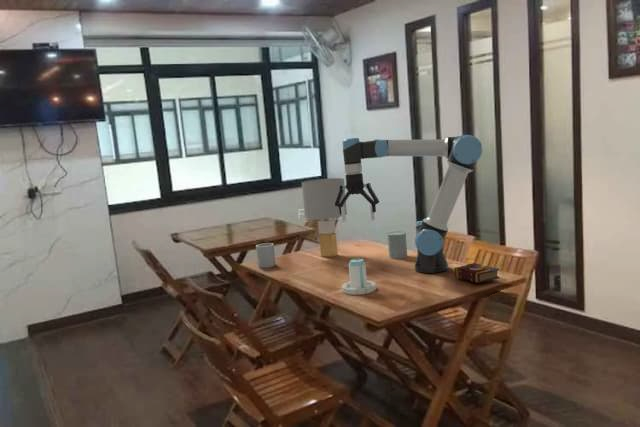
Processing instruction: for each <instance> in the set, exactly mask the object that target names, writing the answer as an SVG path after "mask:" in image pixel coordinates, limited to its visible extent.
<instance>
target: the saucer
mask: <svg viewBox="0 0 640 427" xmlns="http://www.w3.org/2000/svg"><path fill="white" fill-rule="evenodd" d="M376 290H377V284H376V282H375V281H372V280H368V279H367V287H365V288H358V289H354V288H351V287H350V281H348V282H345V283H342V285H341V291H342V293H343V294H346V295H350V296H355V295H356V296H358V295H368V294H370V293H373V292H375V291H376Z"/></svg>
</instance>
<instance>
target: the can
mask: <svg viewBox="0 0 640 427" xmlns="http://www.w3.org/2000/svg"><path fill="white" fill-rule="evenodd" d="M348 272H349V282H350V287H351V288H354V289H358V288H365V287H367V280H368V278H367V268H366V262H365V260H364V259H363V258H353V259H350V260H349V263H348Z"/></svg>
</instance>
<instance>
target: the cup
mask: <svg viewBox="0 0 640 427" xmlns="http://www.w3.org/2000/svg"><path fill="white" fill-rule="evenodd" d="M255 250H256V259H257V260H256V261H257V267H259V268H262V269H263V268H272V267H274V266H276V254H275V247H274V243H272V242H266V243H265V242H264V243H259V244H256V245H255Z"/></svg>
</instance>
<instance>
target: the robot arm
mask: <svg viewBox="0 0 640 427" xmlns="http://www.w3.org/2000/svg"><path fill="white" fill-rule="evenodd" d="M482 154H483V145H482V142H481V141H480V139H478V138H477V136H475V135H471V134H463V135H459V136H458V135H457V136H447V137H446V138H444V139H437V138H436V139H374V140H367V141H366V140H365V141H360V139H359V137H353V138H351V137H350V138H344V139H343V140H342V155H343V162H344V173H345V183H346V185H345V184H344V185H340V191H339V194H338V196H337V199H336V202H335V206H338V207H339V212H340V214H342V216H341V221H342V222H343V223H344V222H346V221H347V219H346V216H347V215H345V207H343V205H344V203H345V202H346V203H347V200H348V198H349V197H350V196H351V195H361V196H363V198H364V199H365V200H366V201H367V202H368V203H369V204H370V205H369V209H370V210H369V211H370V220H371V221H374V220H375V213H376V212H377V208H376V205H377V204H379V203H380V200H379V198H378V197H377V195H376V193H375V192H374V190H373V187H372V186H371V183H370V182H368V183H364V176H363V173H362V172H363V168H362V167H363V166H362V160H365V159H366V160H367V159H376V158H379V159H380V158H385V157H444V158H445V159H447V160H446V162H447V164H448V166H447V170H446V172H445V174H444V177H443V178H442V179H443V180H442V182H441V185H440V186H439V189H438V192H437V195H436V197H435V199H434V201H433V204H432V206H431V209H430V212H429V214H428V216H427V217H426V218H423V219H422V220H420V221H419V220H418V221H416V222H415V230H416V232H415V233H416V234H415V239H414V244H415V247H416V249H417V256H416V259H415V263H414V270H415V272H418V273H422V274H423V273H424V274H429V273H430V274H433V273H434V274H435V273H436V274H437V273H441V272H445V271H447V270H449V264H448V261H447V259H446V255H445V254H444V241H445V239H446V236H447V234H448V231H449V227H448V225H447V224H448V221H449V220H450V217H451V215H452V212H453V210H454V209H455V208H454V207H455V205H456V203H457V200H458V199H459V196H460V193H461V191H462V189H463V187H464V184H465V181H466V180H467V177H468V174H469V173H472V172H474V170H475V167H476V165H477V163H478V160H480V158H481V156H482ZM364 188H365V189H367V191H368V193H369V194H368V193H367V192H366V191H365V190H364ZM344 190H345V191H346V190H347V192H345V197H344V198H343V200H342V201H341V203H340V200H341V197H342V194H343V192H344ZM369 195H370V196H369ZM339 203H340V204H339Z"/></svg>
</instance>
